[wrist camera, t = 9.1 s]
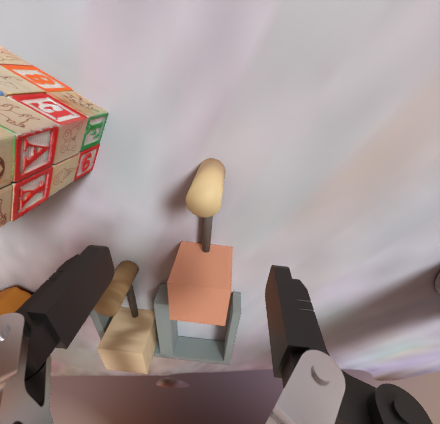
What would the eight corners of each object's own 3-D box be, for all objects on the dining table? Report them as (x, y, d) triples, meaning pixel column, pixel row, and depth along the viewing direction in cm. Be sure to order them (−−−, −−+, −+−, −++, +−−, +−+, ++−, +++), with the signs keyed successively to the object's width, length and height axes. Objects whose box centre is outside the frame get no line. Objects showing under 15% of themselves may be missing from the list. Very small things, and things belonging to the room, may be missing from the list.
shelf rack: (240, 292, 29) (241, 313, 26) (229, 345, 36) (229, 365, 34) (96, 276, 29) (82, 295, 27) (114, 331, 37) (105, 350, 34)
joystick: (245, 161, 19) (248, 191, 14) (227, 281, 28) (225, 325, 23) (180, 154, 19) (159, 181, 14) (182, 276, 28) (169, 319, 23)
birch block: (150, 263, 27) (131, 305, 22) (160, 332, 36) (147, 373, 31) (104, 258, 27) (74, 299, 22) (124, 328, 36) (106, 369, 31)
